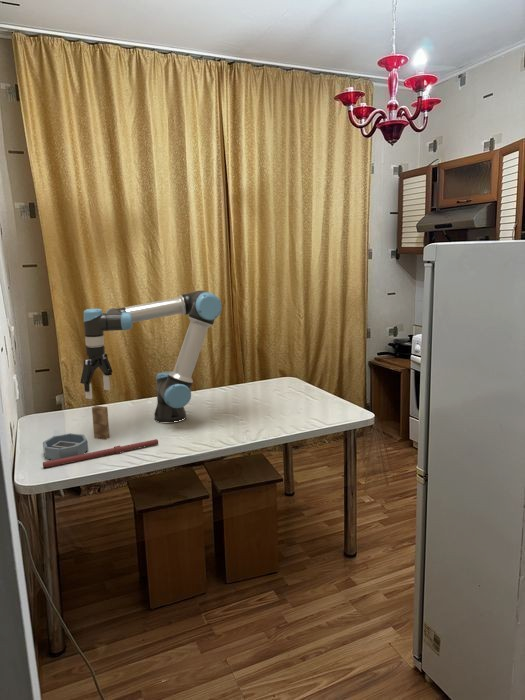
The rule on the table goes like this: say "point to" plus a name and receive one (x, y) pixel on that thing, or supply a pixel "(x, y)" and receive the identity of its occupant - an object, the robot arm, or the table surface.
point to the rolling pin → (98, 453)
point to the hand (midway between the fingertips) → (98, 394)
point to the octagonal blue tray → (65, 446)
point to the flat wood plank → (100, 422)
